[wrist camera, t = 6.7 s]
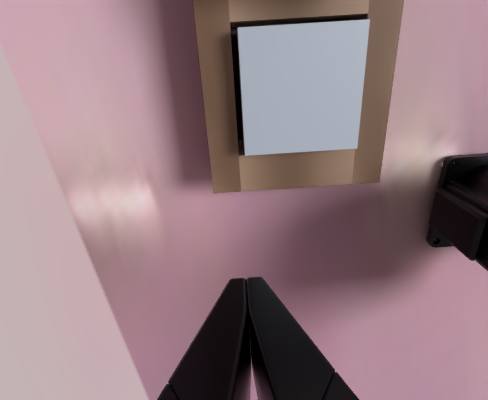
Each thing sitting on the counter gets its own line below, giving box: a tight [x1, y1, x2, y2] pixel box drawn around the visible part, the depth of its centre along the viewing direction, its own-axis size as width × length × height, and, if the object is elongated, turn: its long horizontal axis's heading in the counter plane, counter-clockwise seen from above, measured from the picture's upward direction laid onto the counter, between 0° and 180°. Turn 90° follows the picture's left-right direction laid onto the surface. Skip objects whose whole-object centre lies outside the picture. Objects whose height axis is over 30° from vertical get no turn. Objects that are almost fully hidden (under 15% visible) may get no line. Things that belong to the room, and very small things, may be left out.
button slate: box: [237, 19, 370, 156], centre depth 15 cm, size 5×5×4 cm
